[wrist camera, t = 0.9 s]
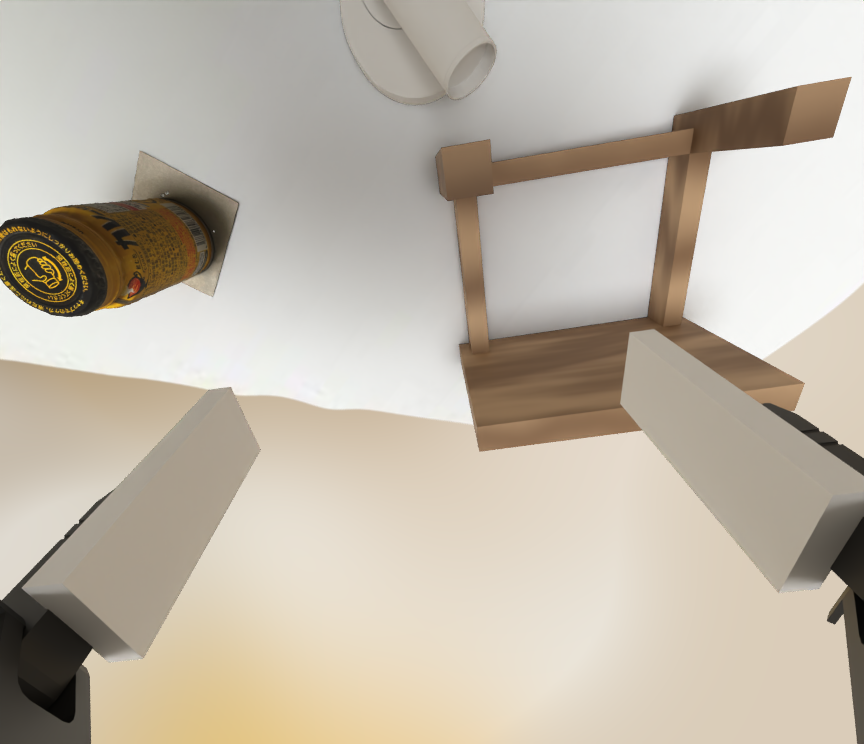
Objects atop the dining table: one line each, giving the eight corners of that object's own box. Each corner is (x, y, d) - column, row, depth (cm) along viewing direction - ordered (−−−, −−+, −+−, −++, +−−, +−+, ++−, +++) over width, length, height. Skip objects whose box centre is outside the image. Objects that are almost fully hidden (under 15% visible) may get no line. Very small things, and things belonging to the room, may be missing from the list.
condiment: (124, 255, 31) (-35, 296, 20) (141, 150, 27) (-39, 133, 17) (214, 296, 32) (112, 354, 22) (240, 203, 29) (135, 218, 18)
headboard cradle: (435, 156, 28) (444, 143, 16) (709, 109, 27) (926, 59, 15) (461, 363, 36) (479, 451, 24) (671, 333, 35) (794, 410, 23)
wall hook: (412, 140, 19) (261, -88, 15) (415, 151, 28) (319, 6, 24) (561, 6, 17) (427, -302, 13) (514, 63, 25) (425, -113, 21)
